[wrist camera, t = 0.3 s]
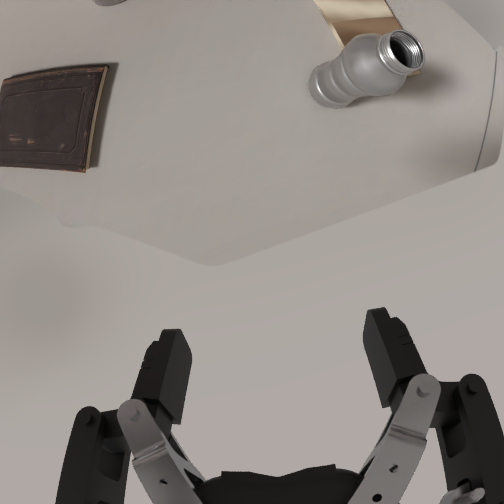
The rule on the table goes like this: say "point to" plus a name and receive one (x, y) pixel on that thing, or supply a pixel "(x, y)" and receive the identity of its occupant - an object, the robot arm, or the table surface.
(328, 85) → the plastic bottle
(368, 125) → the table surface
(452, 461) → the robot arm
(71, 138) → the hardcover book
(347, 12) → the board
